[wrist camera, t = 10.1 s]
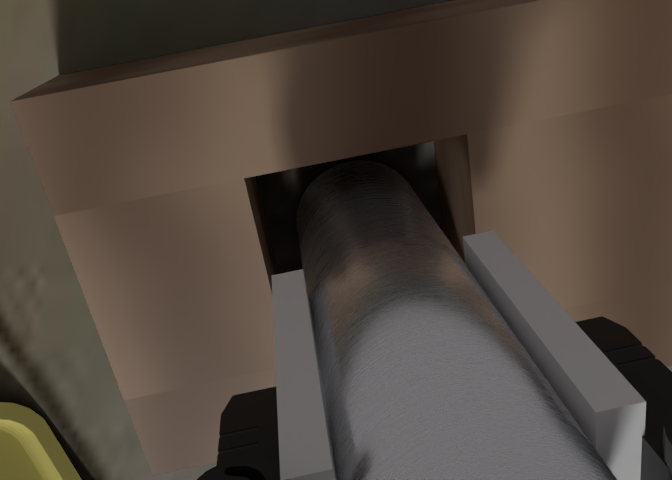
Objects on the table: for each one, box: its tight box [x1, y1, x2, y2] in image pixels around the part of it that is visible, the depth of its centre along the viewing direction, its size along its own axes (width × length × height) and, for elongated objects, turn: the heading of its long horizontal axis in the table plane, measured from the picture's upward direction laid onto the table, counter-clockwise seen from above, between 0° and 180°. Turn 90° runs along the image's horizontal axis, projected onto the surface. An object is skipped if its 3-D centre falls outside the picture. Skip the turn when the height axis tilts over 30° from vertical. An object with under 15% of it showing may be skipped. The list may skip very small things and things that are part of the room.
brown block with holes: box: [10, 0, 672, 476], centre depth 20 cm, size 32×12×4 cm, turn 99°
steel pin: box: [296, 161, 617, 480], centre depth 14 cm, size 4×4×14 cm
